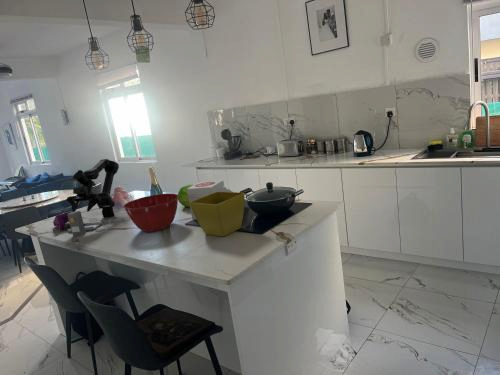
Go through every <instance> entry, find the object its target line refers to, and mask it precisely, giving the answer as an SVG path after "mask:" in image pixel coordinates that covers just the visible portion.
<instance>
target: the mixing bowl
mask: <svg viewBox="0 0 500 375" xmlns="http://www.w3.org/2000/svg"><path fill="white" fill-rule="evenodd" d="M178 203H179V201H178V193H177V194H176V193H159V194H153V195H147V196H143V197H139V198H137V199H133V200H130V201H128V202H127V203H125V204H124V205H123V208H124V210H125V212H126V214H127V216H128V217H129V218H130V220H131V221H132V223H133V224H134V225H135V226H136V228H138V229H139V230H141V231H143V232H146V233H155V232H158V231H162V230H165V229H168V227H170V225H172V224H173V222H174V220H175V218H176V216H177V215H176V214H177V210H178Z"/></svg>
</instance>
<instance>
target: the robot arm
mask: <svg viewBox="0 0 500 375" xmlns="http://www.w3.org/2000/svg"><path fill="white" fill-rule="evenodd" d="M119 168H120V165H119V163H117V162H116V161H115V160H114V161H113V160H109V158H103V159H100V160H99V162H97V163H96V164H95V165H94V166H93V167H92V168H89V169H87V170H85V171H83V169H78V170H77V172H75V173H74V175H73V176H72V178H73V179H74V180H75V181H76V182H77V183H78V184H79V185H81V187H80V186H79V187H73V188H72V194H73V195H72V196H69V195H68V196H67V198H66V201H67V202H68V203H69V204H70V205H71V211H72V212H77V208H78V207H79V203H80V202H85V201H88V204H87V208H86V211H87V212H90V211H91V210H92V209H93V208H94V207H95V206H96V205H97V207H98V208H99V210H100V209H101V213H102V217H103V219H107V218H112V217H116V215H115V211H114V208H113V207H115V206H116V203H115V201H114V200H113V199H112V196H111V192H112V191H111V190H112V186H113V181H114V176H115V175H116V174H117V173H118V170H119ZM103 170H104V172H105V177H104V180H103V185H102V190H101V192H100V193H93V187H96V183H95V181H94V180H97V179H98V177H99V176H100V173H101V172H102V171H103ZM74 195H76V196H77V197H76V196H74Z"/></svg>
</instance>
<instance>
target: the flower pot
mask: <svg viewBox="0 0 500 375" xmlns="http://www.w3.org/2000/svg"><path fill="white" fill-rule="evenodd" d="M190 205H191V208H192V210H193V213H194V215H195V217H196V219H197V220H196V221H197V223H198V225H199V226H200V228H201V230H202V231H203V232H204V234H205V235H210V236H215V237H225V236H228V235H229V234H232V233H233V232H236V231H237V230H239V229H241V228H242V224H243V219H244V218H243V217H244V212H245V211H244V210H245V193H244V192H234V191H232V192H215V193H212V194H210V195H207V196H204V197H202V198H199V199H197V200H194V201H191V202H190Z"/></svg>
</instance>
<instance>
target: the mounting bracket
mask: <svg viewBox="0 0 500 375" xmlns="http://www.w3.org/2000/svg"><path fill="white" fill-rule="evenodd" d="M71 212H72V210H70V211H67V212H63V213H60V214H56V215H55V217H54V219H53V221H52V224H53V226H54V227H57V229H58V231H60V232H61V231H64V230H66V225H65V224H67V223H69V219H68V216H67V214H69V213H71Z"/></svg>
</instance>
